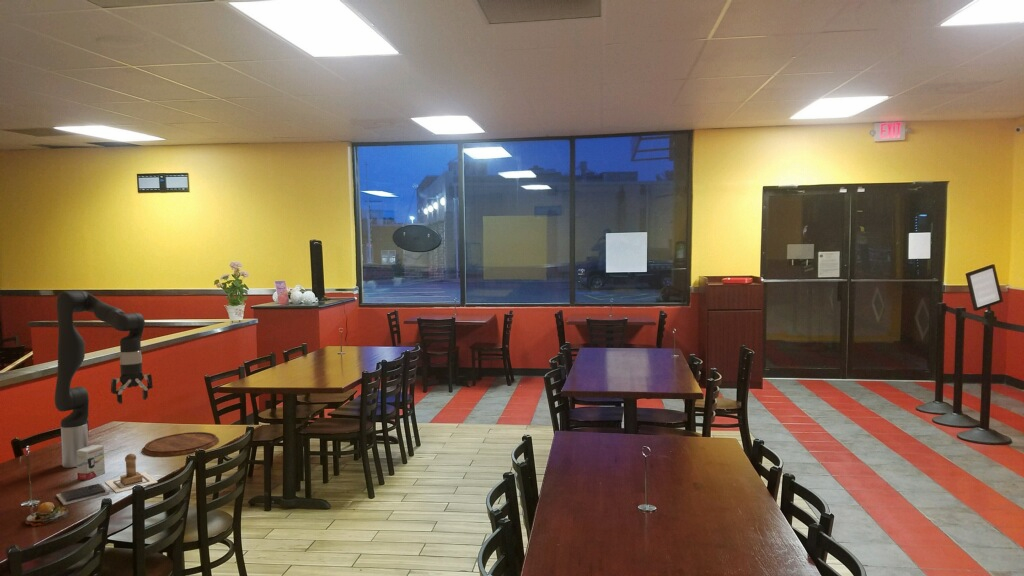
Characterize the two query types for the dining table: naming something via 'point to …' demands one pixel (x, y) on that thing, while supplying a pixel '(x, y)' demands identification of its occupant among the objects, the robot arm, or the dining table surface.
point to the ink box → (90, 462)
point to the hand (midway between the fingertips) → (132, 401)
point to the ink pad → (82, 494)
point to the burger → (47, 514)
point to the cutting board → (180, 444)
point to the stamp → (131, 471)
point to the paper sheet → (119, 487)
